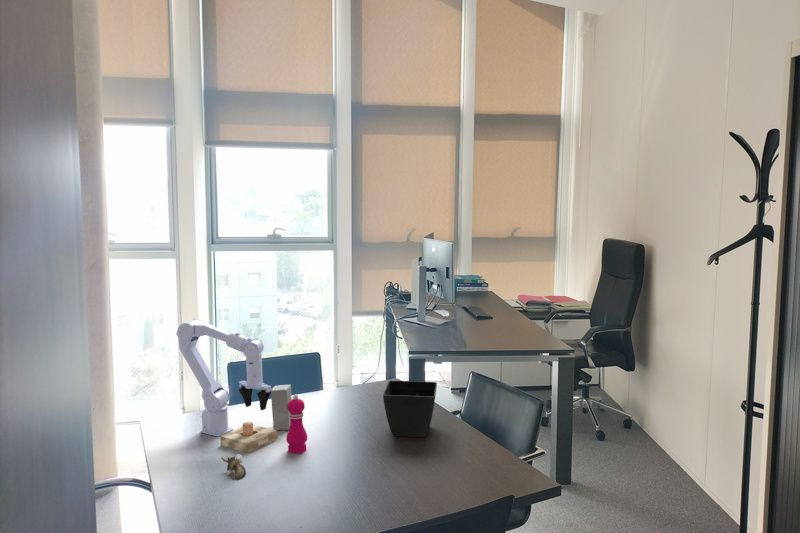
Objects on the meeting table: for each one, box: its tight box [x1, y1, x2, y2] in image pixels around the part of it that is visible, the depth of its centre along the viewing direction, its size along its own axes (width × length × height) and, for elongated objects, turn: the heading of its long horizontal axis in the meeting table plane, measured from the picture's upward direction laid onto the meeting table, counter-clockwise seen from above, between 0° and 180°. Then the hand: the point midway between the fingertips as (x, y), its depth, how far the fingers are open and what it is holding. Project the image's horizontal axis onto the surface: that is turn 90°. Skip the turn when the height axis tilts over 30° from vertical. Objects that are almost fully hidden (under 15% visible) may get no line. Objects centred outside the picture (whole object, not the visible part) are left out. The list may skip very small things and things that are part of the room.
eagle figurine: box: [221, 453, 247, 481], centre depth 191 cm, size 8×7×9 cm
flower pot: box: [382, 380, 438, 438], centre depth 225 cm, size 19×19×17 cm
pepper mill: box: [285, 394, 308, 455], centre depth 209 cm, size 7×7×20 cm
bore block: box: [219, 424, 278, 454], centre depth 217 cm, size 14×14×4 cm
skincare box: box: [270, 384, 293, 431], centre depth 232 cm, size 8×7×16 cm
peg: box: [242, 421, 254, 437], centre depth 217 cm, size 4×4×6 cm
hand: (255, 407), depth 225 cm, fingers open, 7 cm apart
